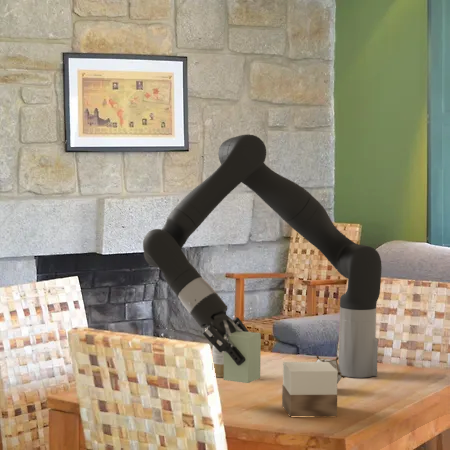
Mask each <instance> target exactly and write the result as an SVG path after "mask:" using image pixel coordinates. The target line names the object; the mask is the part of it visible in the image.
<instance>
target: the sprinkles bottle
mask: <svg viewBox="0 0 450 450" xmlns="http://www.w3.org/2000/svg"><path fill="white" fill-rule="evenodd" d="M213 337H214V336H213ZM217 343H218V342H217ZM220 346H221V345H220ZM211 350H212V356H213V362H214V368H215V373H216V378H224V351H222V352H219V351H218V350H217V349H216V348H215V347H214V345H213V344H212V349H211Z"/></svg>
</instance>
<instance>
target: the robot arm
mask: <svg viewBox="0 0 450 450" xmlns="http://www.w3.org/2000/svg"><path fill="white" fill-rule="evenodd" d="M217 154H218V160H219V162H220V166H219V167H217V169H216V170H215V171H214V172H213V173H212V174H211V175H210V176H208V177H207V178H206V179H204V181H202V182H201V183H200V184H198V185H197V186H196V187H194V188H193V189H192V190H191V191H190V192H188V194H186V195H185V196H184V197H183V198H182V200H181V201H180V202H179V203H178V204H177V205H176V206H175V207H174V209H173V210H172V211H170V213H169V214H168V217H166V218H167V219H166V222H165V224H164V225H163V227H162V228H155V229H154V228H153V229H151V230H150V231H148V232H146V233H145V235H144V238H143V241H142V249H143V256H144V260H145V261H146V263H147V264H148V265H149V266H151V267H154V268H157V269H159V270H160V271H161V272H162V274H163V276H164V279H165V282H166V284H167V285H168V286H169V288H170V289H171V290H172V291H173V292H174V294H175V295H176V297H178V299H179V301H180V302H181V304H182V306H183V307H184V308H185V309H186V310H187V312H188V313H189V314H190V315H191V317H192V318H193V320H194V321H195V322H196V324H198V326H199V327H200V328H202V329H205V330H204V331H202V335H203V336H204V337H205V338H206V339H207V340H208V341H209V342H210V344H211V345H212V346H213V345H214V347H215V348H216V349H217V350H218V351H219V352H222V351H224V352H225V353H228V354H229V355H230V357H231V358H232V359H233V360H234V361H235V363H236V364H237V365H238V366H239V365H241V364H242V363H243V362H244V361H245V357H244V356H243V355H242V354H241V352H240V351H239V350H238V349H237V348H236V347H234V346H235V345H234V343H233V342H232V341H231V339H230V335H232V334H231V333H234V332H236V331H237V332H242V331H244V332H250V331H249V330H248V329H247V328H246V326H245V324H244V323H243V321H242V320H241V318H239V317H238V316H237V317H235V318H234V319H232V318H231V317H229V316H228V314H227V311H228V308H229V307H228V306H227V304H226V303H225V302H224V301H223V299H222V298H221V297H220V296H219V294H218V293H217V292H216V290H215V289H214V288H213V287H212V286H211V284H209V282H207V281H206V280H205V278H203V277H202V275H201V274H200V273H199V272H198V270H197V269H196V268H195V267H194V266H193V265H192V263H191V262H190V261H189V260H188V258H187V257H186V255H185V253H184V251H183V250H182V249H183V246H184V245H185V244H186V242H187V241H188V240H189V237H190V236H191V235H192V234H193V233H194V232H196V230H197V229H198V228H199V227H200V226H201V225H202V223H204V221H205V220H206V219H207V218H208V217H209V216H210V215H211V213H212V212H213V211H214V210H215V209H216V208H217V207H218V205H219V204H220V203H221V202H222V201H224V199H225V198H226V197H228V195H229V194H231V192H233V190H234V189H236V188H237V187H238V186H239V185H240V184H241V183H242V184H243V185H244V186H246V187H247V188H249V189H250V190H251V191H252V192H254V193H255V194H256V195H257V197H259V198H260V199H261V200H262V201H263V202H264V203H265V204H266V205H267V206H268V207H270V208H271V209H272V210H273V211H274V212H275V213H276V214H277V215H278V216H279V217H280V218H281V219H282V220H283V221H284V222H285V223H286V224H288V226H290V227H291V228H292V229H293V230H294V231H295V232H297V233H298V234H299V235H300V236H301V237H303V239H305V240H306V241H307V242H308V243H309V244H311V245H313V247H315V248H316V249H317V250H319V252H320V253H321V254H322V255H323V256H324V257H325V258H326V259H327V260H328V261H329V263H330V264H331V265H332V266H333V268H335V270H336V271H337V272H338V273H339V274H340V275H341V276H343V277H344V278H345V279H347V289H346V292H344V294H342V295H341V296H340V298H339V299H340V300H339V331H338V333H339V334H338V336H339V337H338V339H339V340H338V366H339V368H340V371H341V374H342V376H345V377H347V378H348V377H349V378H360V379H361V378H371V377H377V376H378V357H379V356H378V354H379V353H378V352H379V346H378V345H379V339H378V338H377V337H376V335H377V334H376V332H377V329H376V328H377V305H378V304H377V303H378V300H379V297H380V294H381V285H382V284H381V283H382V282H381V281H382V260H381V255H380V254H379V252H378V251H377V249H376V248H374V247H373V246H370V245H365V244H360V243H356V242H354V241H353V240H351V239H350V238H348V237H347V236H346V235H345V234H343V233H342V232H341V231H340V230H339V229H338V228H337V227H336V226H335V224H334V223H333V221H332V219H331V218H330V216H329V213H328V212H327V210H326V209H325V208H324V206H323V205H322V204H321V203H320V201H318V200H317V199H316V198H315V197H314V196H313V195H312V194H311V193H310V192H309V191H308V190H307V189H305V188H304V187H303V186H300V185H299V184H298V183H295V181H292V180H290V179H288V178H286V177H285V176H283V175H281V174H279V173H277V172H275V171H273V170H272V169H271V168H270V167H269V166H268V165H267V164H266V163H265V161H266V158H267V148H266V144H265V142H264V141H263V140H262V139H261V138H260V137H258V136H257V135H254V134H248V133H247V134H241V135H238V136H233V137H230V138H227V139H226V140H224V141H223V142H222V143H221V144H220V145H219V148H218V153H217ZM225 334H226V336H225V337H224V335H225ZM213 336H214V337H213ZM227 341H228V342H227ZM217 342H218V343H217ZM220 345H221V346H220Z"/></svg>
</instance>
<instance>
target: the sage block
mask: <svg viewBox="0 0 450 450" xmlns="http://www.w3.org/2000/svg"><path fill="white" fill-rule="evenodd" d="M231 334H232V335H230V339H231V341H232V342H233V343H234V345H235V346H234V347H236V348H237V349H238V350H239V351H240V352H241V354H242V355H243V356H244V357H245V361H244V362H243V363H242V364H241V365H239V366H238V365H237V364H236V363H235V361H234V360H233V359H232V358H231V357H230V355H229V354H228V353H225V352H224V377H223V381H228V382H234V383H235V382H237V383H243V384H244V383H245V384H250V383H252V382H254V381H256V380H259V379H260V378H261V347H262V346H261V343H262V342H261V339H262V338H261V337H262V335H261V334H262V333H261V332H253V331H249V332H244V331H242V332H237V331H236V332H234V333H231ZM225 336H226V334H225V335H224V337H225ZM227 342H228V341H227Z"/></svg>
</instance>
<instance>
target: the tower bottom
mask: <svg viewBox="0 0 450 450" xmlns="http://www.w3.org/2000/svg"><path fill="white" fill-rule="evenodd" d="M281 391H282V394H281V396H282V397H281V407H282V408H283V407H284V408H283V409H284V410H286V411H287V412H288V414H289V415H290V416H337V417H338V394H337V395H290V394H289V392H288V391H287V389H286V388H285V387H284V385H283V384H282V390H281ZM286 411H285V412H286ZM287 412H286V413H287ZM288 414H287V415H288ZM289 415H288V416H289ZM290 416H289V417H290Z"/></svg>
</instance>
